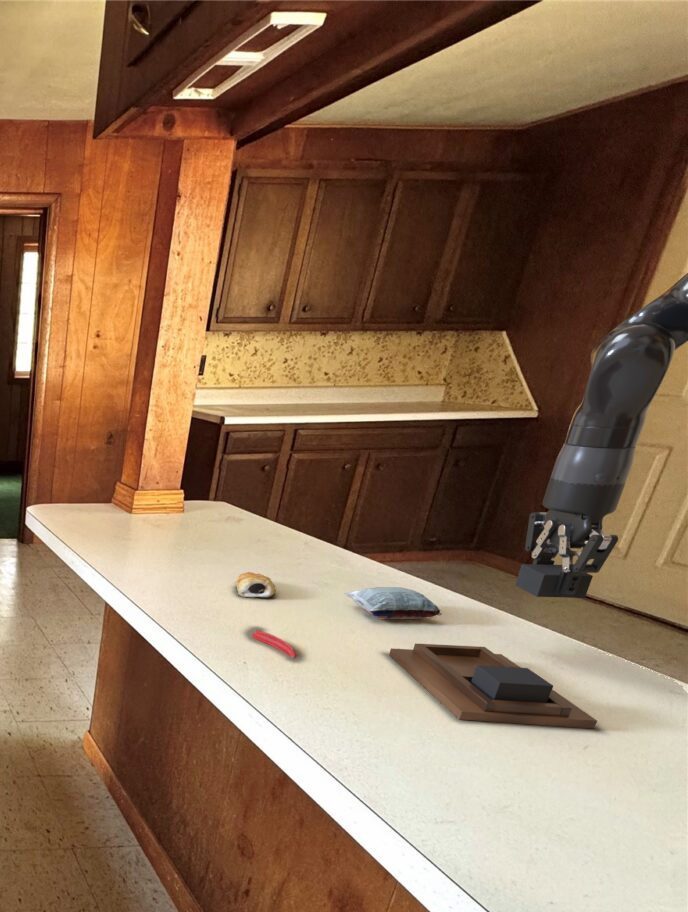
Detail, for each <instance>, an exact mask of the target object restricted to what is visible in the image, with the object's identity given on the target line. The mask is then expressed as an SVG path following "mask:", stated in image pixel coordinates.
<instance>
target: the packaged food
mask: <svg viewBox="0 0 688 912" xmlns="http://www.w3.org/2000/svg"><path fill="white" fill-rule="evenodd" d="M344 595H345V596H346V597H348V598H350V599H352V601H353V602H354V603H356V604H357V605H358V606H359V607H361V608H362V609H364V610H365V611H367V612H368V613H369V614H370V615H371V616H373V617H374V618H375V619H378V620H415V619H417V620H418V619H419V620H420V619H428V618H434V617H437V616H439V617H440V616H441V615H442V612H441V609H440V608H439V607H438V606H437V604H435V603H434V602H433V601H432V600H431V599H430V598H428V597H427V596H425V595H424V594H422V593H420V592H418V591H416V590H414V589H409V588H406V587H401V586H375V587H367V588H363V589H358V590H354V591H351V592H349V591H347V590H345V591H344Z"/></svg>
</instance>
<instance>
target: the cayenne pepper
mask: <svg viewBox="0 0 688 912" xmlns="http://www.w3.org/2000/svg"><path fill="white" fill-rule="evenodd" d="M250 635H251V637H252V638H253V639H254V640H256V641H258V642H260V643H264V644H266V645H268V646H271V647H273V648H275V649H277V650H279V651H280V652H281V653H283V654H285V655H286V656H288V657H290V656H291V657H292V658H293V659H295V657H297V656H298V653H297V652H296V650H295V649H294V648H292V646H291V645H290V644H289V643H288V642H286V641H285V640H283V639H282V638H280V637H278V636H276V635H274V634H271V633H269V632H265V631H260V630H258V629H255V631H254V633H251V634H250Z"/></svg>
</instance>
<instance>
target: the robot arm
mask: <svg viewBox="0 0 688 912" xmlns="http://www.w3.org/2000/svg"><path fill="white" fill-rule="evenodd" d="M686 343H688V272H686V274H685V275H683V276H681V278H680V279H679V280H677V281H676V282H675V283H674V284H673V285H672V286H670V288H669V289H667V290H666V291H665V292H663V293H662V294H661V295H660V296H658V297H656V298H655V299H653V300H652V301H650V302H649V303H648V304H646V305H645V306H643V307H642V308H640V309H639V310H638V311H636V312H635V313H633V314H631V315H630V316H629V317H627V318H626V319H625V320H623V321H622V322H621V323H619V324H618V325H616V326H615V327H614V328H613V329H612V330H611V329H610V331H609V332H607V333H606V334H605V335H604V336H602V338H600V339H599V340H598V341H597V343H596V344H595V345H594V346H593V349H592V351H591V353H590V364H591V369H590V373H589V377H588V380H587V383H586V387H585V389H584V393H583V397H582V401H581V403H580V404H579V405H578V407H577V408H576V409H575V412H574V414H573V416H572V418H571V421H570V424H569V427H568V430H567V433H566V436H565V440H564V443H563V445H562V447H561V449H560V451H559V453H558V455H557V457H556V459H555V462H554V465H553V468H552V472H551V475H550V478H549V481H548V484H547V487H546V490H545V492H544V493H545V494H544V496H543V500H542V503H541V505H542V506H543V507H544V508H546V509H547V512H545V511H544V512H543V511H542V512H541V511H540V512H531V513H530V514H529V517H528V525H527V532H526V538H525V546H524V550H525V551H526V552H530V553H531V558H532V559H533V561H532V564H544V565H555V562H556V561H555V560H554V559H555V558H556V557H557V556H560V557H561V558H562V563H561V565H562V571H561V572H560V575H559V578H558V581H557V584H556V587H555V590H554V594H555V595H557V596H559V597H558V598H566V597H572V596H574V595H575V593H576V592H577V589H578V586H579V583H580V581H581V578H582V575H583V574H584V573H588V574H598V573H600V571H601V569H602V567H603V566H604V564H605V562H606V561H607V559H608V557H609V556H610V555H611V553H612V552H613V549H614V548H615V547H616V544H617V543H618V541H619V536H618V535H616V534H607V533H606V532H605V531H603V520H604V518H605V517H606V516H608V515H610V514H613V513H614V512H616V510H617V508H618V505H619V504H620V503H619V502H620V499H621V497H622V494H623V492H624V489H625V487H626V483H627V481H628V478H629V476H630V472H631V470H632V467H633V464H634V459H635V453H636V449H637V445H638V442H639V440H640V437H641V435H642V432H643V429H644V426H645V423H646V420H647V415H648V411H649V409H650V406H651V404H652V402H653V400H654V399H655V397H656V395H657V394H658V391H659V389H660V387H661V385H662V384H663V381H664V380H665V377H666V375H667V373H668V370H669V368H670V366H671V363H672V361H673V357H674V354H675V351H676V350H678V349H679V348H680V347H682V346H684V345H685V344H686ZM537 536H538V537H537ZM574 549H575V550H574ZM576 549H577V550H576ZM579 549H580V550H579ZM574 557H577V559H576V561H575V562H574ZM591 560H592V561H591ZM590 561H591V563H590Z"/></svg>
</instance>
